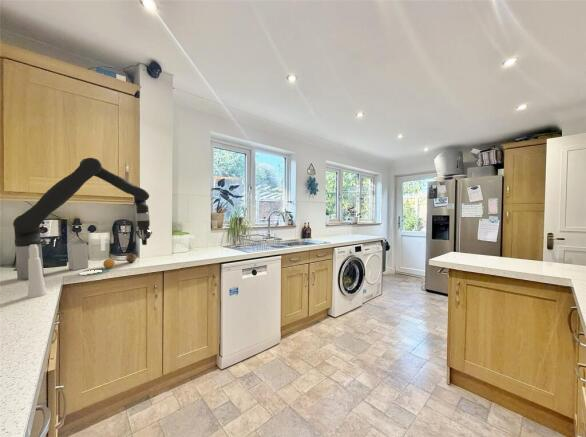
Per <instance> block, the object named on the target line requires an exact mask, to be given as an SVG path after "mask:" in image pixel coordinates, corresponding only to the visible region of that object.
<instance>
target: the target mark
mask: <svg viewBox="0 0 586 437" xmlns="http://www.w3.org/2000/svg"><path fill="white" fill-rule="evenodd" d="M89 270H90V271H91V270H94V271H95V270H102V272H97V273H93V274H87V275H82V276H85V277H86V276H87V277H88V276H95V275H101V274H104V273H105V274H106V273H108V272H109V271H111V268H106V267H98V268H97V267H96V268H91V269H86V270H84V271H89Z"/></svg>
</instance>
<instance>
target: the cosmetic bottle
mask: <svg viewBox="0 0 586 437" xmlns="http://www.w3.org/2000/svg"><path fill="white" fill-rule="evenodd" d="M29 246H30V247H29V257H30V259H28V275H29V279H28V287H27V288H28V289H27V296H26V297H27V298H30V299H31V298H37V297H42V296H45V295H47V294H48V292H47V287H46V284H45V279H44V275H43V272H42V265H41V259H40V258H39V253H38V247H37V245H36V244H35V245H29Z"/></svg>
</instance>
